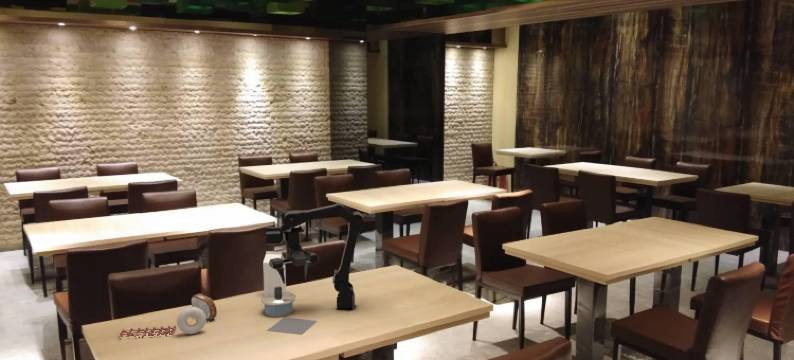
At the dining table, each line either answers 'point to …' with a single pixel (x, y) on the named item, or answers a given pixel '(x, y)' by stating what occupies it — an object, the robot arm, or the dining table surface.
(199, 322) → the donut
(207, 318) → the tin
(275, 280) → the milk carton
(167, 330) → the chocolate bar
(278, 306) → the blue bowl
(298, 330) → the mat
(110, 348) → the dining table surface
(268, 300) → the lid
